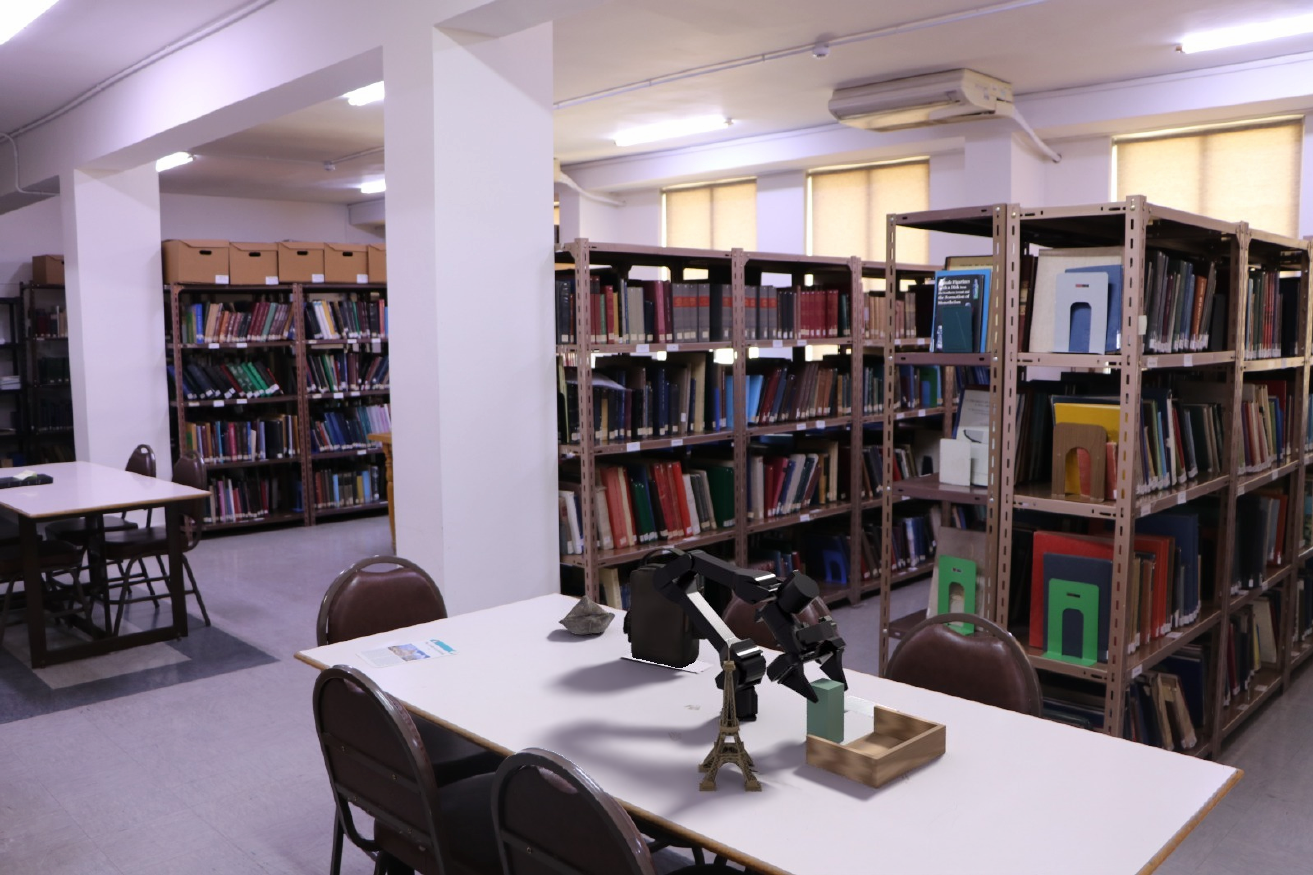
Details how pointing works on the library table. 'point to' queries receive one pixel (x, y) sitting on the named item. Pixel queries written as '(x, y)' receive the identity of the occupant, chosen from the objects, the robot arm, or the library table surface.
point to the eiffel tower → (728, 750)
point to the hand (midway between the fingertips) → (832, 696)
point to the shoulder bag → (659, 620)
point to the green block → (826, 710)
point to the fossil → (587, 617)
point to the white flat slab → (860, 706)
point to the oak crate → (880, 749)
